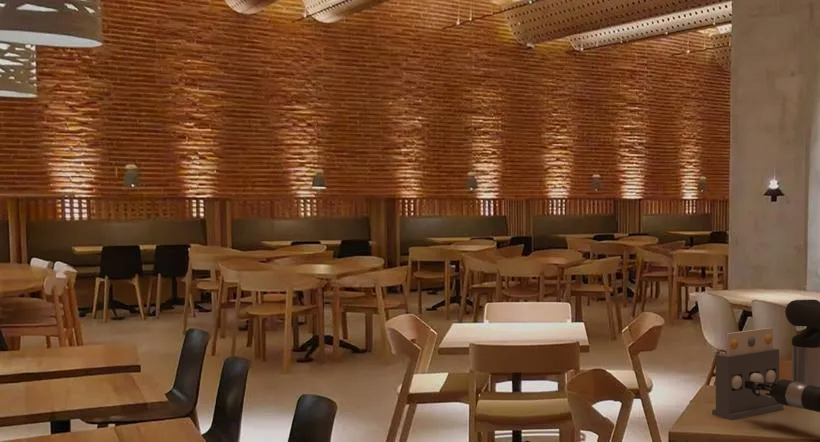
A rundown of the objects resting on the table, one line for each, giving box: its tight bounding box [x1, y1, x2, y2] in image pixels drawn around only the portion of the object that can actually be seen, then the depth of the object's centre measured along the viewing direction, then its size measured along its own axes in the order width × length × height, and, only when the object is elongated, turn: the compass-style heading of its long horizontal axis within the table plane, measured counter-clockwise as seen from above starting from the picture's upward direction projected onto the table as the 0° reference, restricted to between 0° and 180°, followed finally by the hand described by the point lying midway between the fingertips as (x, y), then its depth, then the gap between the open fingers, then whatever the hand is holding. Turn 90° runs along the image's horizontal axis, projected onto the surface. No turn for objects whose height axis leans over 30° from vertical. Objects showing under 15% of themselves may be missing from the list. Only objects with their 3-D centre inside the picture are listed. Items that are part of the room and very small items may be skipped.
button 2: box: [766, 369, 776, 382], centre depth 280 cm, size 4×3×4 cm
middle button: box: [749, 372, 764, 383], centre depth 274 cm, size 4×3×4 cm
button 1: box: [732, 375, 742, 389], centre depth 272 cm, size 4×3×4 cm
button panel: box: [711, 347, 784, 421], centre depth 277 cm, size 24×8×20 cm, turn 119°
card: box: [726, 327, 774, 356], centre depth 275 cm, size 21×1×7 cm, turn 119°
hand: (746, 384), depth 267 cm, fingers closed
